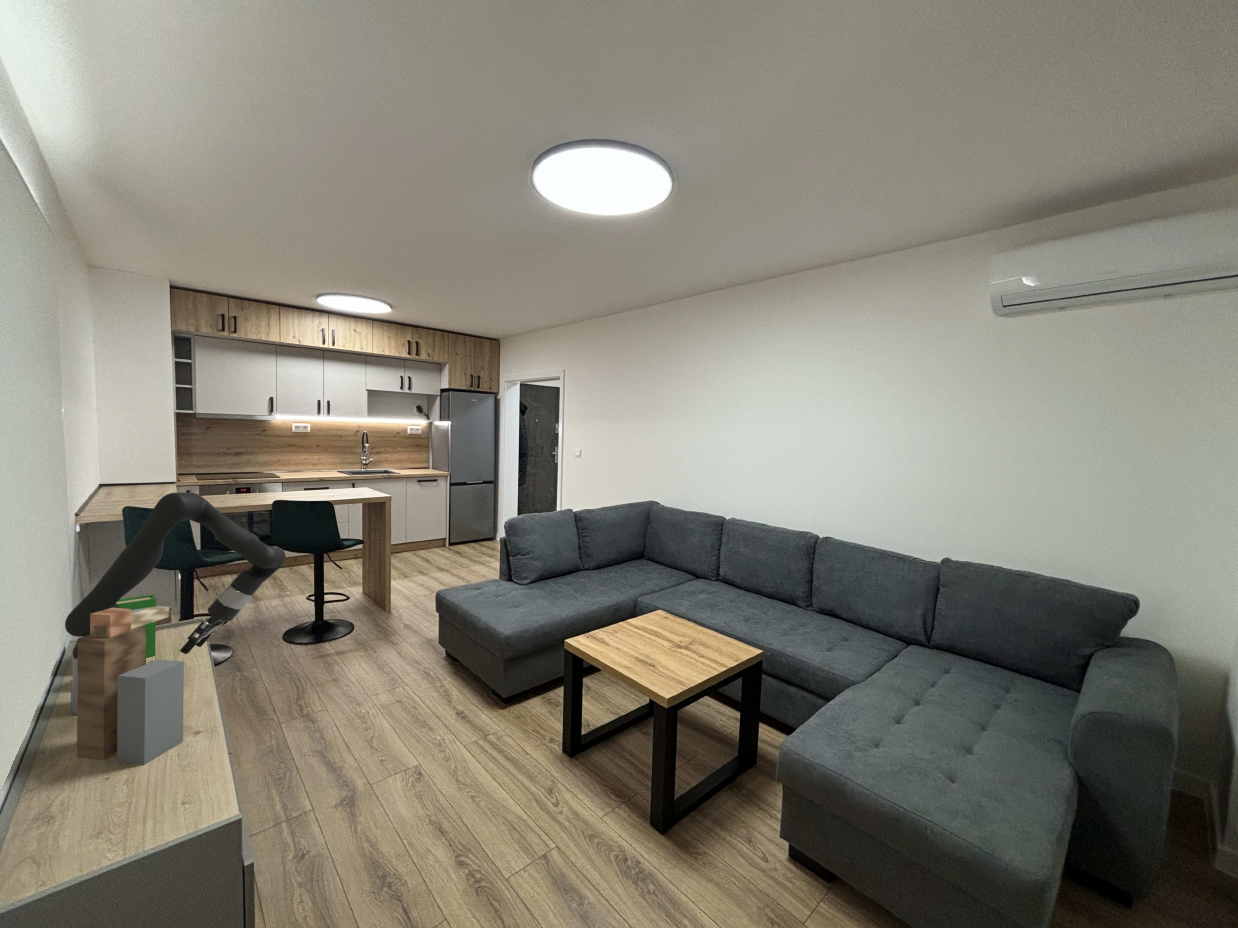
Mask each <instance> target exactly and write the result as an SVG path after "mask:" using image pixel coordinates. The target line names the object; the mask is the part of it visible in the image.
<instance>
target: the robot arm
mask: <svg viewBox="0 0 1238 928" xmlns="http://www.w3.org/2000/svg"><path fill="white" fill-rule="evenodd" d="M185 521H186V522H188V521H192V522H195V523H197V524H200V525H202V526H204V527H205V528H206V529H208V530H209V531H210V532H211V533H212V534H213V536H214V537H215V539H217V541H218V542H219V543H220V544H222V545H223V546H225V547H226V548H228V549H230V550H232V551H233V552H235V553H237V554H239V555H240V556H241V557H242V558H243V559H245V560H246V562H248V563H249V564H251V565H252V566H251V567H249V568H247V569H244V570H242V571H241V572H240V573H239V574H238V575H237V576H236V577H235V578H234V579H233V580H232V581H231V583H230V584H229V585H228V586H227V587H226V588H225V589H224V590H223V591H221V593H220V594H219V595H218V596H217V597H216V599H215V600H213V602H212V603H211V604H210V606H209V607H208V608H207V612H208V614H209V615H210V617H209V618H205V619H204V620H202V621H200V623H199V624H198V626H197V627H196V628H195V629H193V631H192V632H191V633H190V635H188V636H187V641H186V643H184V645H183V646H182V647H181V648H180V650H179V651H180V653H182V654H184V655H187V654H189V653H190V652H191V651H192V650H193V648H195V646H196V647H198V648H201V647H202V646H204V644H205V643H206V642H207V641H208V640H209V639H210V637H212V636H213V635H214V634H216V633H217V632H218V631H219V629H221V627H222V626H223V624H225V622H232V621H233V620H234V619H235V617H236V616H237V615H238V614H239V613H240V612H241V610H242V609H243V608H244V607H245V606H246V605H247V604H248V602H249V600H251V598H252V597H253V595H254V594H255V593H256V592H257V590H258V589H259V588H260V587H261V585H262V584H263V583H264V582H265V581H266V580H268V579H269V578H270V577H271V576H273V575H274V574H275V573H276V572H277V571H278V570H279V569H280V568H281V567H282V566H283V564H284V562H285V561H286V552H285V550H283V548H280V547H277V546H269V545H268V544H267V543H264V542H263V541H261V540H260V539H259V537H258V536H257V535H255V534H254V533H252V532H251V531H249V530H247V529H246V528H244V527H242V526H241V525H239V524H237V523H236V522H234V521H233V520H231V519H230V518H228V517H227V516H226V515H225V514H223V513H222V511H220V510H218V508H217V507H215V506H213V504H211V503H210V502H209V501H208V500H207V499H206V498H204V497H203V496H202V495H200V494H198V493H195V492H188V491H187V492H171V493H167V494H165V495H164V496H162V497H161V498H160V499H159V500H158V501H157V503H156V504H155V506H154V507H153V509H152V511H151V512H150V514H149V515H148V517H147V518H146V520H145V522H144V523H143V525H142V526H141V527H140V529H139V530H138V532H136V534H135V535H134V537H133V538H132V539H131V541H130V542H129V543H128V544H127V546H126V547H125V548H124V549H123V550H122V552H121V553H120V554H119V555H118V556H117V557H116V559H115V560H114V562H113V563H112V564H111V566H110V567H109V569H107V570H106V572H105V573H104V574H103V576H102V577H101V579H99V581H98V582H97V584H95V586H94V587H93V589H92V590H91V591H90V592H89V593H88V594H87V595H86V596H85V597H84V598H83V599H82V600H81V601H80V602H79V603H78V604H77V605H76V606H75V607H74V608H73V609H72V610H71V611H70V612H69V613H68V615H67V616H66V619H65V622H64V627H65V628H64V629H65V630H66V632H67V633H68V634H69V635H70V636H73V637H79V638H81V637H84V636H87V635H90V614H91V613H95V612H99V611H102V610H106V609H109V608H120V607H119V605H118V604H117V601H118V600H119V599H123V597H124V596H125V595H127V594H128V593H129V592H130V591H132V590H133V589H134V588H135V587H137V586H138V585H139V584H140V583H142V581H144V580H145V579H146V578H147V577H148V576H149V575H150V573H152V571H153V570H154V569H155V567H156V566H157V565H158V564H159V562H160V560H161V559H162V557H163V553H164V545H165V541H166V540H165V539H166V538H167V535H169V533H170V532H171V531H172V530H173V528H174V527H175V526H176V525H177V524H178V523H179V522H185ZM197 635H198V636H197ZM77 666H78V643H77V644H76V645H75V646H74V647H73V650H72V679H71V680H70V710H72V712H71V713H72V714H74V715H77Z"/></svg>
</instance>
